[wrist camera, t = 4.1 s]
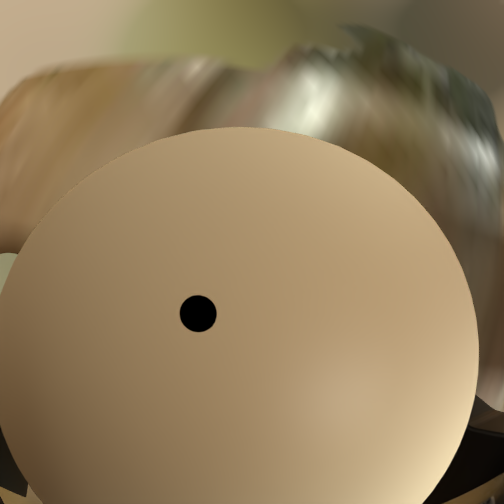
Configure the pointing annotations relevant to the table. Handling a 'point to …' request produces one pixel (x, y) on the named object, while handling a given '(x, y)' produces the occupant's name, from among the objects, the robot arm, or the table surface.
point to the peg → (236, 331)
